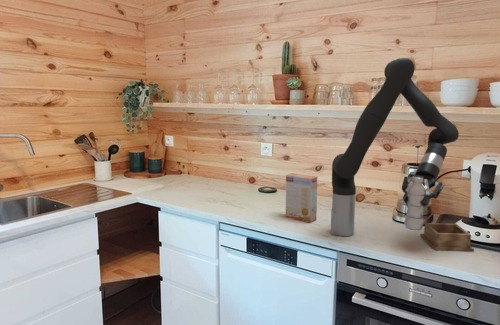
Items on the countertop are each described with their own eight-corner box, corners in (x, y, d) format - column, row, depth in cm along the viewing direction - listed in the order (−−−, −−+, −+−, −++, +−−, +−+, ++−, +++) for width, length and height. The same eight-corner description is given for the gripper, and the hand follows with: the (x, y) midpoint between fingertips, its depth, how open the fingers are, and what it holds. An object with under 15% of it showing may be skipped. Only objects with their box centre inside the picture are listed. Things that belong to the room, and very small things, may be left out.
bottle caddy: (433, 250, 132) (434, 234, 131) (420, 236, 146) (421, 222, 145) (473, 251, 131) (475, 236, 130) (456, 237, 144) (457, 223, 143)
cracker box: (317, 220, 167) (318, 176, 163) (310, 223, 162) (311, 178, 159) (292, 214, 176) (292, 172, 172) (285, 217, 172) (285, 174, 168)
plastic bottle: (417, 225, 137) (421, 174, 133) (426, 232, 130) (431, 178, 126) (400, 226, 136) (404, 174, 133) (409, 232, 130) (413, 178, 126)
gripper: (408, 159, 139) (392, 194, 133) (448, 164, 129) (432, 202, 123) (412, 170, 143) (397, 204, 137) (451, 176, 133) (437, 213, 127)
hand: (414, 203), depth 130 cm, fingers closed on plastic bottle, 6 cm apart
